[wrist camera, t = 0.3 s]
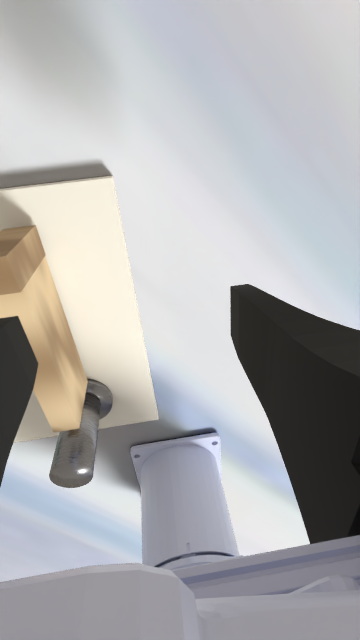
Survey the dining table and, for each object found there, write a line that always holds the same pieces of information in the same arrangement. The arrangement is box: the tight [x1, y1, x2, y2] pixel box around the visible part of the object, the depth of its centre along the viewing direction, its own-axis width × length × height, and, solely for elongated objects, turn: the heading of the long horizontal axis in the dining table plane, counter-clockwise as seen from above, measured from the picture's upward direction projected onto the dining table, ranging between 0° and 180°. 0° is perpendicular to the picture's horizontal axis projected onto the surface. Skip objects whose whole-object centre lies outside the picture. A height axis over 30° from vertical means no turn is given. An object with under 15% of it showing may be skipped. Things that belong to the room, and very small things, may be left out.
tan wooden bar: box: [0, 225, 88, 432], centre depth 17 cm, size 11×2×4 cm, turn 5°
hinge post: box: [49, 379, 113, 488], centre depth 21 cm, size 4×4×7 cm
